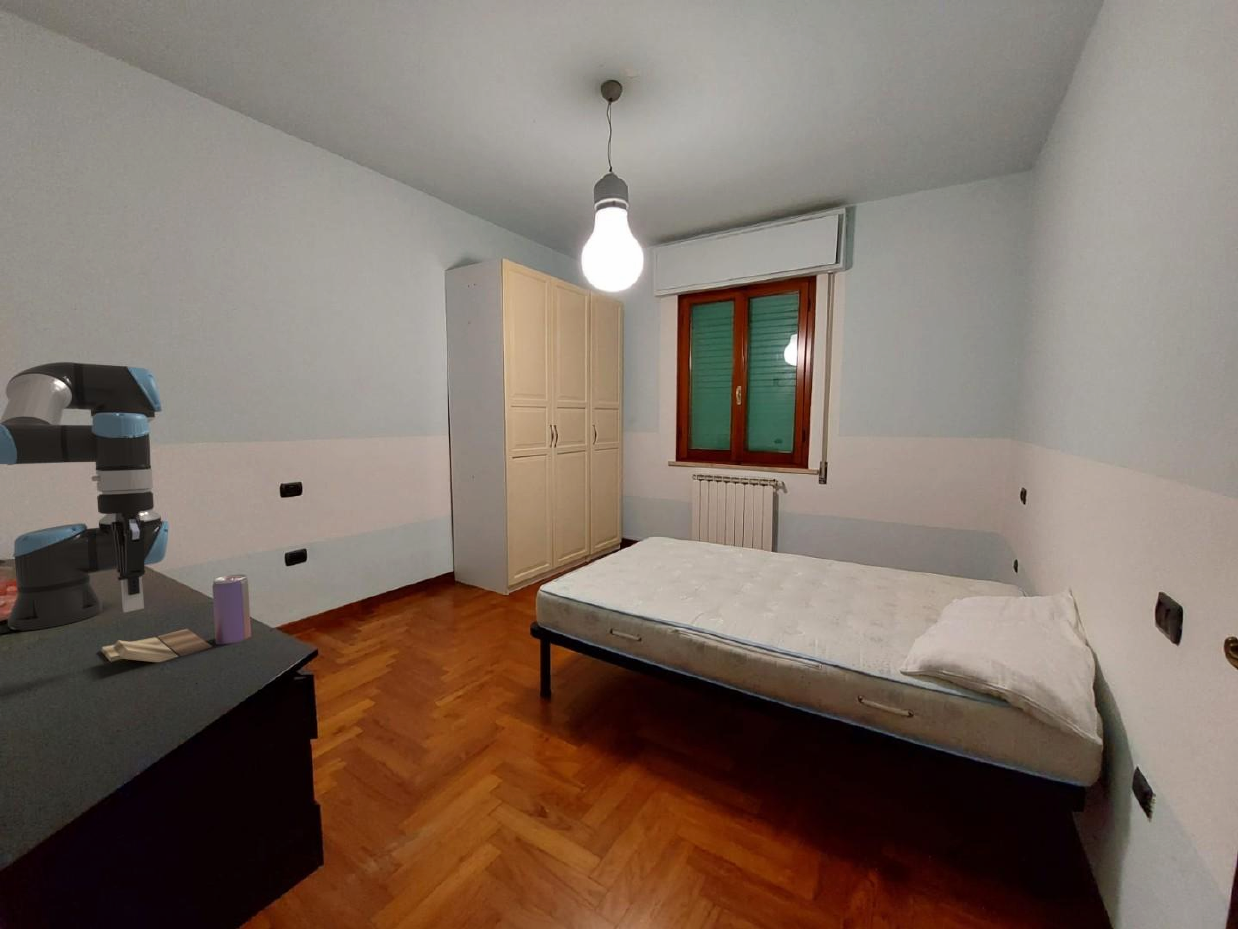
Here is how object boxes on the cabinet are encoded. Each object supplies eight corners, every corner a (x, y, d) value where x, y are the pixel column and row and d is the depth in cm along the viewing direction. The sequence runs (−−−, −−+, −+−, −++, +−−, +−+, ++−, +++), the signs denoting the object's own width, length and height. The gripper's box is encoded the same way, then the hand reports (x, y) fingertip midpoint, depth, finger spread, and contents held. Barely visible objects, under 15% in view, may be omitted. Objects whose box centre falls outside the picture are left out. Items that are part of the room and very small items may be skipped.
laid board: (157, 643, 103) (157, 636, 103) (187, 634, 107) (187, 628, 107) (181, 663, 93) (180, 656, 93) (213, 653, 97) (212, 646, 97)
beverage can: (231, 652, 98) (227, 583, 97) (208, 649, 99) (204, 581, 98) (258, 640, 104) (254, 574, 103) (236, 638, 105) (233, 573, 104)
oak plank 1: (101, 654, 95) (102, 647, 96) (155, 644, 102) (155, 637, 102) (110, 664, 91) (110, 657, 91) (165, 653, 98) (166, 646, 98)
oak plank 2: (112, 648, 91) (117, 640, 92) (162, 654, 97) (166, 646, 98) (122, 658, 87) (127, 650, 87) (173, 664, 93) (178, 656, 93)
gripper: (90, 492, 91) (98, 609, 92) (104, 495, 84) (113, 622, 85) (144, 488, 97) (151, 598, 98) (161, 491, 90) (168, 609, 91)
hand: (133, 609), depth 92 cm, fingers closed
